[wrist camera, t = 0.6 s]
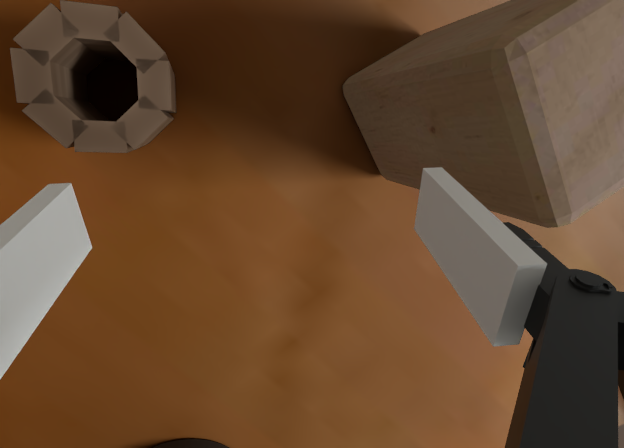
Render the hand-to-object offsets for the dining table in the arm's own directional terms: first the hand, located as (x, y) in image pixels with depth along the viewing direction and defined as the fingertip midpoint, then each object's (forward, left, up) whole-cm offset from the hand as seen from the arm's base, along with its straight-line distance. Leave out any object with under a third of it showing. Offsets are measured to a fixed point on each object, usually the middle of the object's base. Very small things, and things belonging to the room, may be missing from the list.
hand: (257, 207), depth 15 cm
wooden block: (+15, -8, -20) cm, 26 cm away
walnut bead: (-2, +9, -19) cm, 21 cm away
